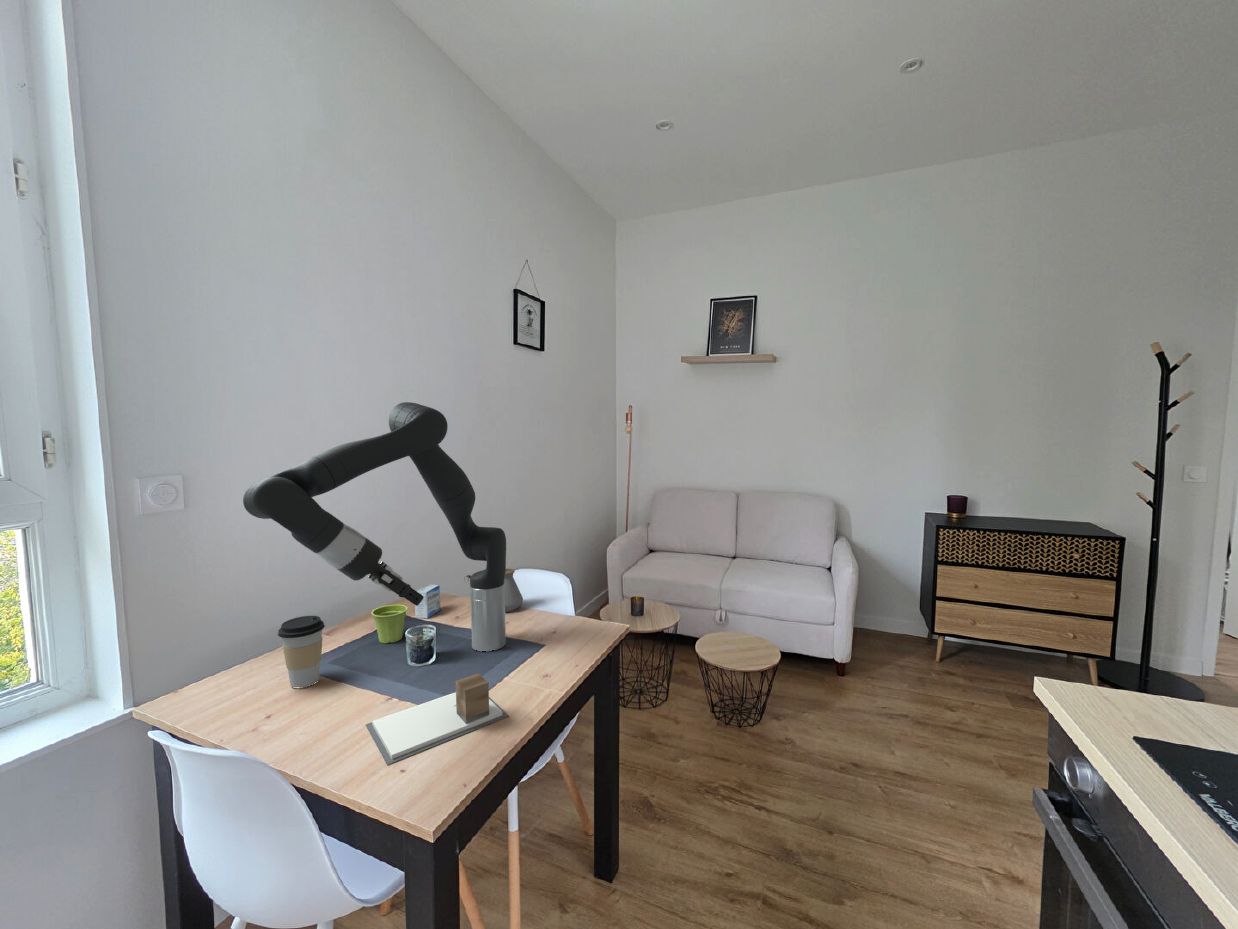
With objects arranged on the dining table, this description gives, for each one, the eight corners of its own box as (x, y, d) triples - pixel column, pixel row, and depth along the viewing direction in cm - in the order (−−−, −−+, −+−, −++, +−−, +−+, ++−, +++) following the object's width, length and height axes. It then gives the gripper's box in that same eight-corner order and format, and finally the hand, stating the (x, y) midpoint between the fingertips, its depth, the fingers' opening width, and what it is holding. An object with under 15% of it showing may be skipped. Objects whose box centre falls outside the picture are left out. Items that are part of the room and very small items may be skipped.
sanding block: (456, 713, 105) (455, 681, 105) (479, 704, 109) (478, 673, 108) (466, 724, 101) (465, 690, 101) (489, 715, 105) (488, 682, 104)
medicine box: (427, 619, 160) (426, 592, 160) (414, 618, 161) (413, 591, 161) (441, 610, 168) (440, 585, 167) (428, 609, 169) (428, 584, 168)
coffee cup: (336, 677, 123) (333, 617, 122) (297, 696, 114) (293, 632, 113) (311, 670, 127) (307, 612, 126) (271, 687, 118) (268, 625, 117)
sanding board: (365, 725, 103) (365, 720, 103) (477, 686, 118) (477, 682, 118) (387, 765, 91) (387, 760, 91) (508, 716, 106) (508, 711, 106)
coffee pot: (507, 600, 177) (506, 558, 176) (530, 607, 170) (529, 563, 169) (455, 619, 160) (454, 572, 159) (478, 627, 153) (476, 579, 152)
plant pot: (391, 630, 151) (390, 602, 151) (415, 635, 148) (414, 606, 147) (365, 643, 143) (363, 613, 142) (390, 648, 139) (388, 618, 138)
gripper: (373, 542, 93) (438, 589, 101) (354, 530, 104) (414, 573, 112) (342, 576, 90) (412, 621, 98) (327, 560, 101) (390, 602, 109)
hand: (413, 595), depth 105 cm, fingers open, 8 cm apart
